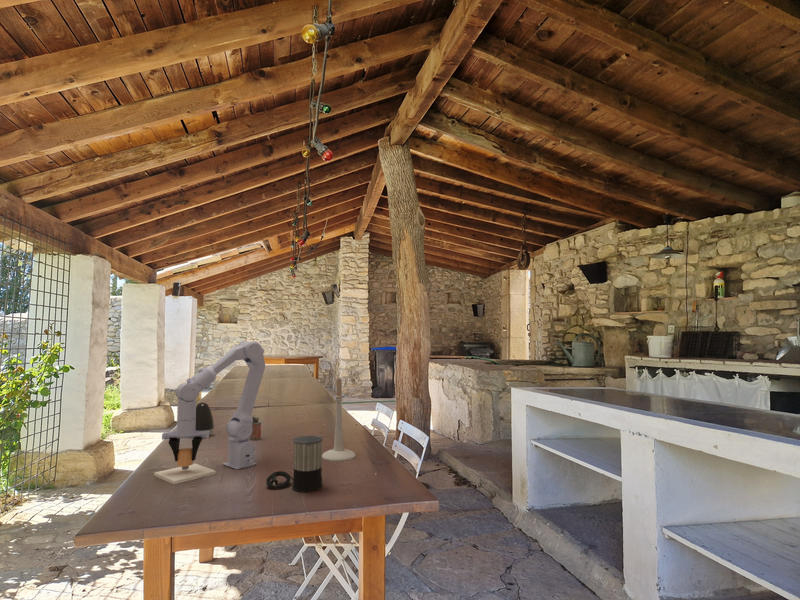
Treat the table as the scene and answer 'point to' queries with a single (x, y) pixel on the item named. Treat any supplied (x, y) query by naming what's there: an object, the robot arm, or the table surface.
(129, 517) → the table surface
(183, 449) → the cap
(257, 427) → the lighter
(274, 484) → the milk frother
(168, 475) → the post board
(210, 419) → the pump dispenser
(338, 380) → the candlestick
